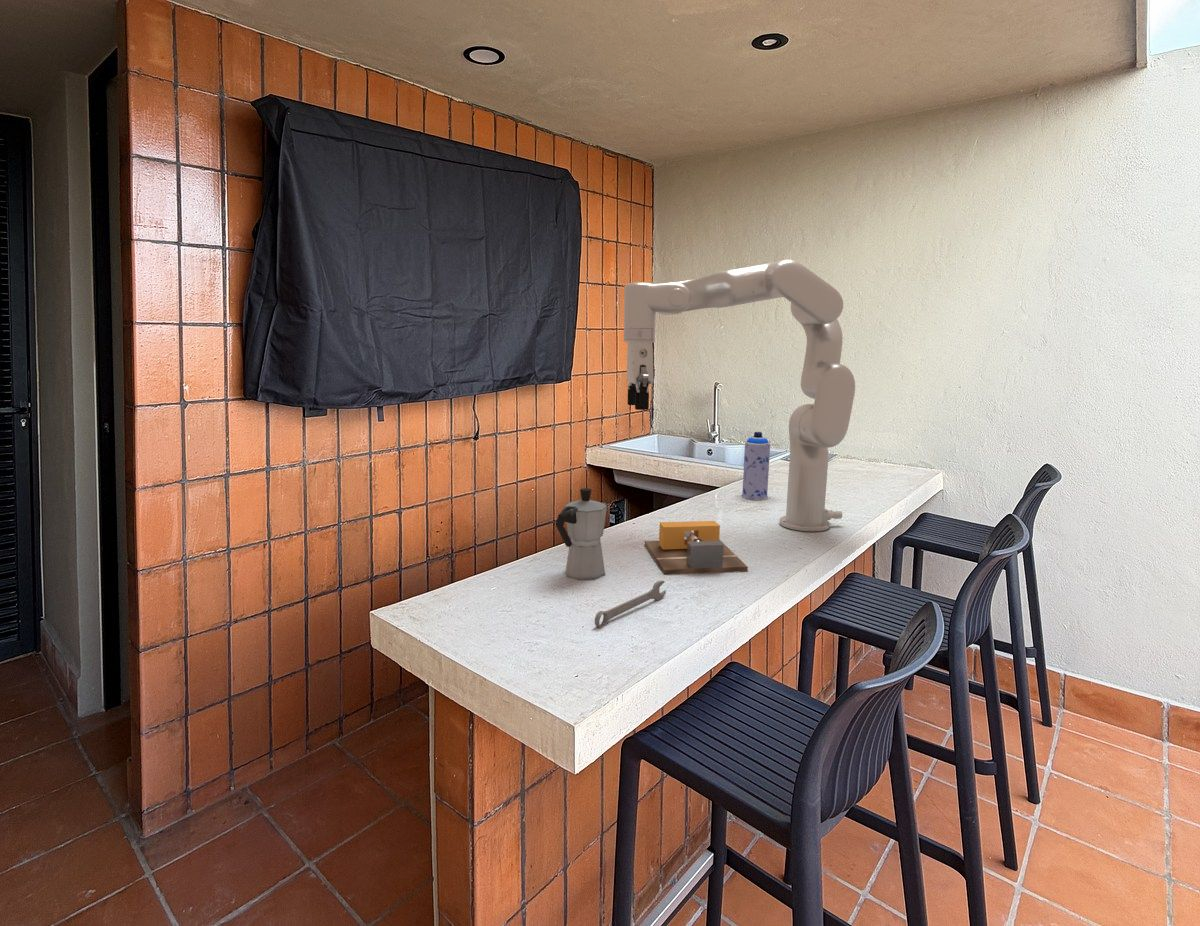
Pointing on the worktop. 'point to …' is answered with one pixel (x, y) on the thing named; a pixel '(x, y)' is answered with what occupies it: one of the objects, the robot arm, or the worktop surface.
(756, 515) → the worktop surface
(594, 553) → the coffee maker
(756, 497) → the aerosol can
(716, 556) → the grey block with rod
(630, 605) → the combination wrench
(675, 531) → the collar
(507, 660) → the worktop surface
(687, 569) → the pipe board
